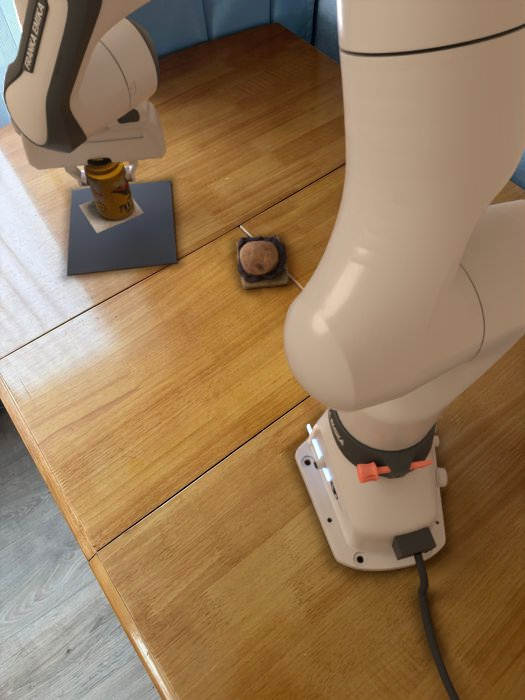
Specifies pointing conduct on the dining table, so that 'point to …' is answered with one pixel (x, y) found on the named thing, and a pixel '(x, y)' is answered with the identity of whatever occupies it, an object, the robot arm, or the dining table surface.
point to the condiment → (108, 195)
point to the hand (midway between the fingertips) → (108, 181)
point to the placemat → (124, 233)
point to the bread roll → (262, 262)
